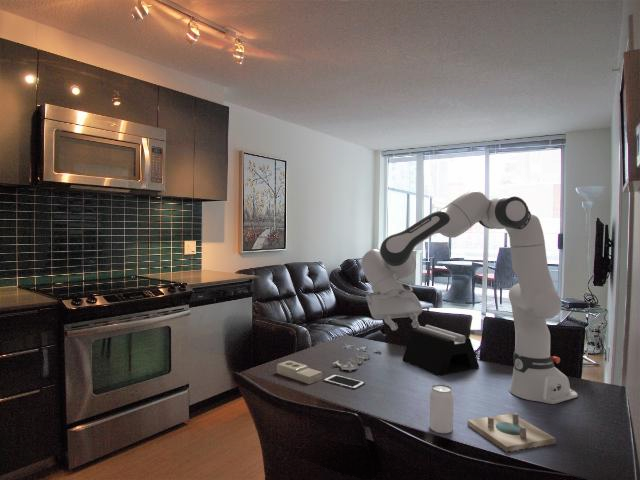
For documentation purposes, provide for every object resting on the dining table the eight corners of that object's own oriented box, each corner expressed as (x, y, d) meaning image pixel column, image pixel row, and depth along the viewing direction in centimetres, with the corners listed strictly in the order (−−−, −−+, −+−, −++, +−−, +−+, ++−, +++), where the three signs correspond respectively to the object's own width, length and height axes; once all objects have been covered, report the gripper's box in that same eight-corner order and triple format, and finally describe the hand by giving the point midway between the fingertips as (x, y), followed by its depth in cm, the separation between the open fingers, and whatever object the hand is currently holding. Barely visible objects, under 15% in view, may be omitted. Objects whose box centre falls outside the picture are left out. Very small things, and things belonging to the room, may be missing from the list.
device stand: (440, 354, 196) (441, 322, 196) (479, 368, 176) (479, 333, 176) (402, 361, 186) (402, 327, 185) (438, 377, 166) (439, 339, 165)
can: (428, 432, 119) (429, 390, 119) (430, 422, 125) (431, 382, 125) (452, 436, 117) (452, 393, 117) (453, 426, 123) (454, 385, 123)
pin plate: (511, 418, 129) (512, 405, 129) (555, 443, 113) (555, 429, 113) (467, 424, 124) (467, 411, 124) (506, 452, 109) (506, 437, 109)
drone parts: (305, 365, 181) (305, 358, 181) (344, 347, 211) (343, 341, 211) (353, 373, 169) (352, 365, 169) (387, 353, 199) (386, 346, 199)
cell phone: (333, 376, 166) (333, 373, 166) (366, 384, 157) (366, 382, 157) (322, 381, 160) (322, 379, 159) (355, 391, 151) (355, 388, 151)
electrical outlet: (309, 374, 156) (276, 363, 168) (309, 385, 156) (276, 374, 168) (322, 369, 161) (289, 359, 173) (321, 380, 161) (289, 369, 173)
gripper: (368, 287, 133) (387, 325, 126) (414, 286, 145) (433, 320, 137) (359, 298, 137) (376, 335, 129) (404, 296, 148) (422, 330, 141)
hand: (406, 328), depth 133 cm, fingers open, 8 cm apart
